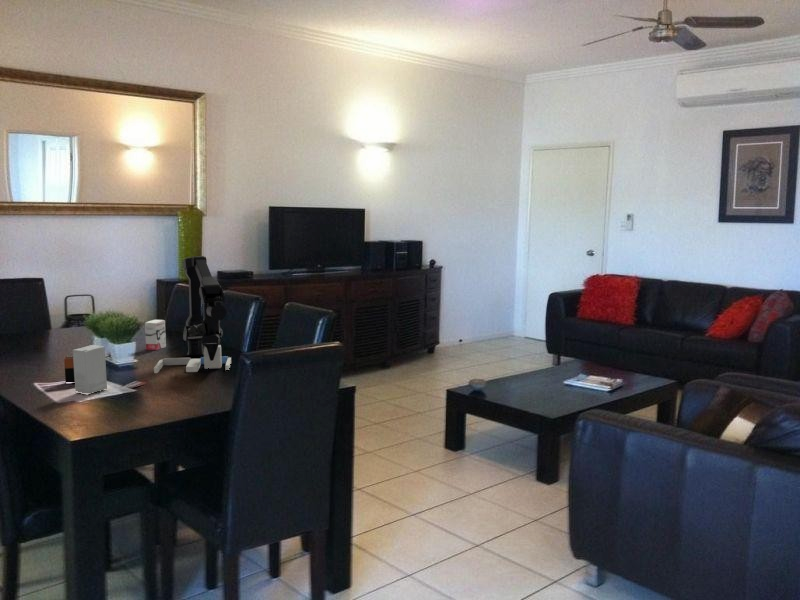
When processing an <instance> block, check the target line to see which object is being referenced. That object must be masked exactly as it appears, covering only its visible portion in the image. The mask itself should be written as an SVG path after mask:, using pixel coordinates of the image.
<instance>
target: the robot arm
mask: <svg viewBox="0 0 800 600" xmlns="http://www.w3.org/2000/svg"><path fill="white" fill-rule="evenodd" d="M207 260H208V259H207V257H206V256H205V255H198V256H197V255H196V256H192V257H190V256H189V257H185V259H184V260H182V264H181V265H182V269H183V271H184V275H186V277H187V279H188V294H189V295H188V298H189V299H188V302H189V303H188V304H189V316H188V317H187V319H186V320H185V326H184V328H183V332H182V333H183V334H182V337H183V338H182V339H183V340H184V341H185V342H187V349H188V350H187V354H186V356H187V357H192V356H193V357H194V356H195V357H197V356H204V346H205V347H206V348H207V351H208V354H209V358H210V361H213V360H214V357H215V354H216V351H217V348H218V345H220V343H221V340H222V337H223V329H222V327H221V325H220V323H221V321H222V320H224V319H225V318H226V316H227V312H228V311H227V310H226V308H225V306H223V305H222V303H224V302H225V299H226V296H225V293H224V289H223V288H222V286H221V285H220V283H219V281H218V279H215V278H214V277H213V275H212V273H211V269H210V268H209V265H208V263H207ZM202 307H203V309H202ZM202 310H203V313H202ZM202 314H203V316H202Z"/></svg>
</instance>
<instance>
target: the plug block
mask: <svg viewBox="0 0 800 600" xmlns="http://www.w3.org/2000/svg"><path fill="white" fill-rule="evenodd" d="M203 351H204V355H203V357H204V364H203V365H204V366H203V367H204V370H206V369H207V370H209V369H221V368H222V365H223V363H222V358H221V357H222V345H221V344H219V345H218V348H217V351H216V354H215V357H214V360H213V361H210V358H209V354H208V351H207V348H206V347H205V346H204V345H203ZM208 368H209V369H208Z"/></svg>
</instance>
